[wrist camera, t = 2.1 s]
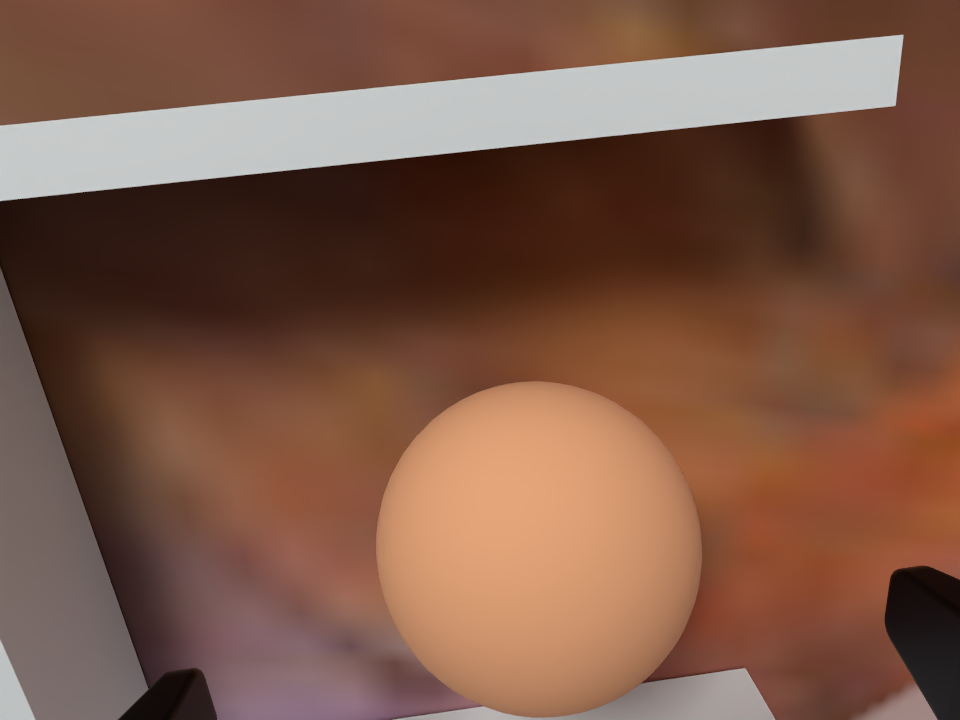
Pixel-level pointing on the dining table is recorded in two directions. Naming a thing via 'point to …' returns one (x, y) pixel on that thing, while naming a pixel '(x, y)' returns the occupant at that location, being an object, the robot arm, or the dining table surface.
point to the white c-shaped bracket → (308, 144)
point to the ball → (539, 549)
